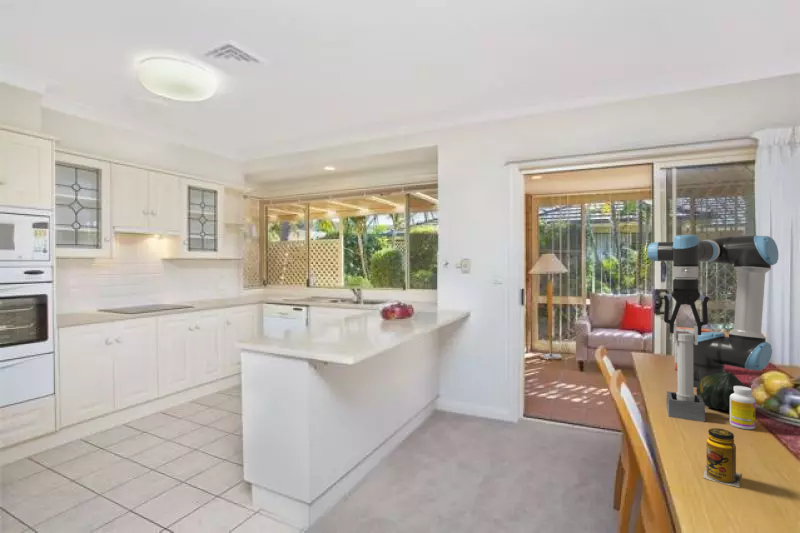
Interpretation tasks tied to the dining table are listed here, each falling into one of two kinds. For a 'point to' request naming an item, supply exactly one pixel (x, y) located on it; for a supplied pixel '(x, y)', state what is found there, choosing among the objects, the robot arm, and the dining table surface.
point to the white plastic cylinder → (685, 366)
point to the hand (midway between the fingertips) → (685, 343)
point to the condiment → (721, 458)
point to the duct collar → (685, 408)
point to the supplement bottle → (742, 408)
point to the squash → (718, 390)
